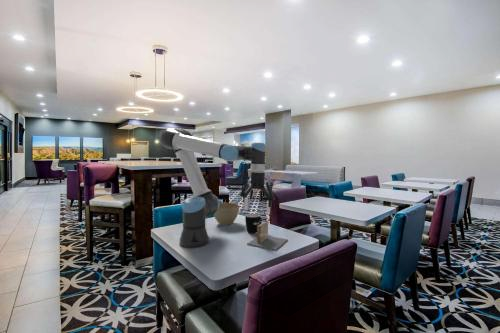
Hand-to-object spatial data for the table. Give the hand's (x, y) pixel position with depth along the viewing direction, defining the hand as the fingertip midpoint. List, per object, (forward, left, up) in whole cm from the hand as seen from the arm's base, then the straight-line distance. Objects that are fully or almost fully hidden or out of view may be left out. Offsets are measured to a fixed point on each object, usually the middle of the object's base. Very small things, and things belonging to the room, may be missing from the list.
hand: (256, 211), depth 133 cm
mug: (-8, +13, -16) cm, 23 cm away
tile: (+4, 0, -16) cm, 16 cm away
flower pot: (-32, +17, -16) cm, 40 cm away
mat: (+7, 0, -16) cm, 17 cm away
